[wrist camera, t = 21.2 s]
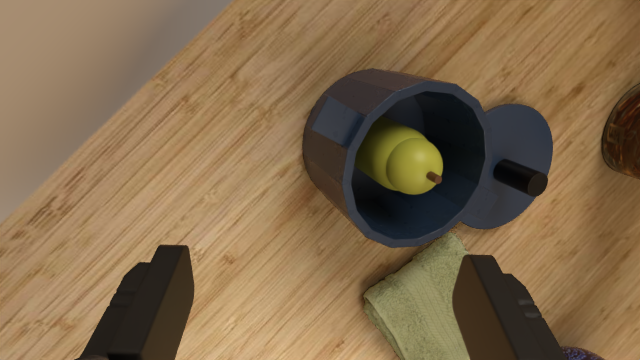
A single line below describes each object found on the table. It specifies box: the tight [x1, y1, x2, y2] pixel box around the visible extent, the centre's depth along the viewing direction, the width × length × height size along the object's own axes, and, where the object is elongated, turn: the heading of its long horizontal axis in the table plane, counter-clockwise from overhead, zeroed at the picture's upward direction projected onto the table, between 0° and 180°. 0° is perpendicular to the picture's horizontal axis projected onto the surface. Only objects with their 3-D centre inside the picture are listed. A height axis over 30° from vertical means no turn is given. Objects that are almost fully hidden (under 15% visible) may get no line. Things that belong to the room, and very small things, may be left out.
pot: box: [303, 68, 498, 248], centre depth 34 cm, size 12×18×8 cm
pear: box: [354, 116, 443, 195], centre depth 33 cm, size 5×5×10 cm
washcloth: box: [363, 232, 470, 360], centre depth 46 cm, size 13×18×3 cm
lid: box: [460, 104, 553, 229], centre depth 42 cm, size 13×13×6 cm
